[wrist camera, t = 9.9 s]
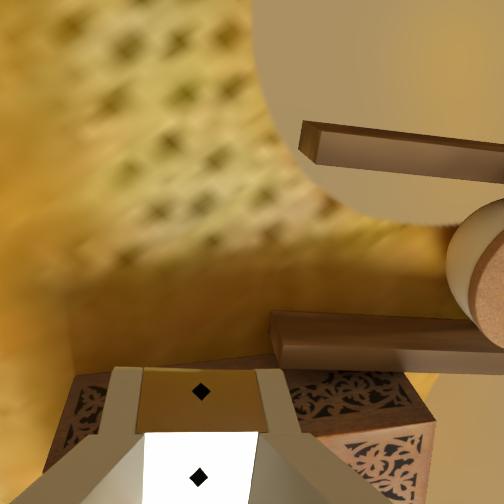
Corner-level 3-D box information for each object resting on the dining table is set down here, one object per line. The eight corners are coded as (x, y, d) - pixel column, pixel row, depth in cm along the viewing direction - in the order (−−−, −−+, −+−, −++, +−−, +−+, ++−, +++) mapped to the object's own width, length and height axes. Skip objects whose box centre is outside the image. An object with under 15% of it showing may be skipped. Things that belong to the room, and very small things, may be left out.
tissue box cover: (104, 501, 45) (84, 616, 36) (75, 373, 39) (42, 472, 30) (372, 464, 47) (417, 563, 38) (381, 339, 42) (436, 421, 33)
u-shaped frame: (302, 120, 33) (321, 131, 29) (601, 155, 37) (660, 170, 33) (268, 331, 40) (279, 368, 35) (527, 342, 44) (567, 377, 39)
